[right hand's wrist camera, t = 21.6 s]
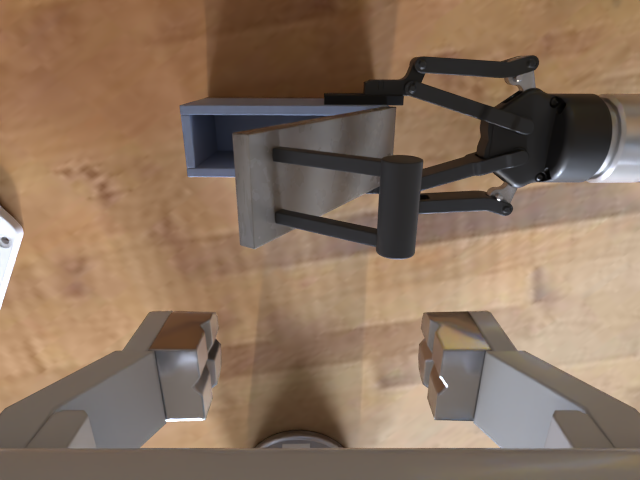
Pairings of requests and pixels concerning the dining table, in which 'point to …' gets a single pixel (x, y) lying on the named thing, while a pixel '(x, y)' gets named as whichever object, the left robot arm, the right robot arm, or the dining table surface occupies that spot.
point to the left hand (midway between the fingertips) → (324, 138)
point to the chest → (241, 126)
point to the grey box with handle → (327, 180)
